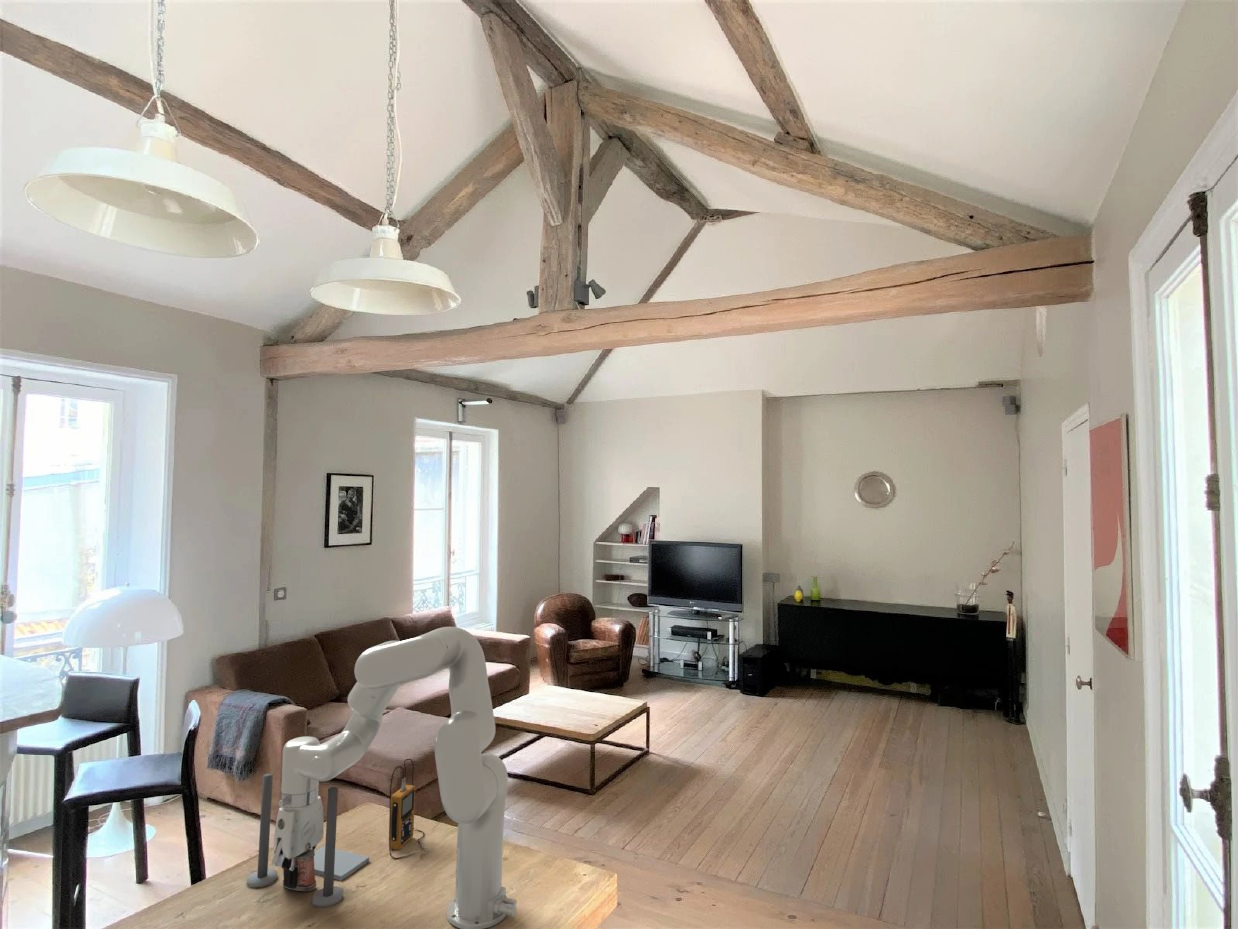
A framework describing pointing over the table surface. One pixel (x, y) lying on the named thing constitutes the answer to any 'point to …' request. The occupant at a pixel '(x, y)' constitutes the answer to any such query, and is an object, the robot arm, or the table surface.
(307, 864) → the lighter
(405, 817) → the multimeter
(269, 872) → the far cord post
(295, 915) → the table surface
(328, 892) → the post
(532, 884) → the table surface
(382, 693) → the robot arm
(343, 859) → the mat
